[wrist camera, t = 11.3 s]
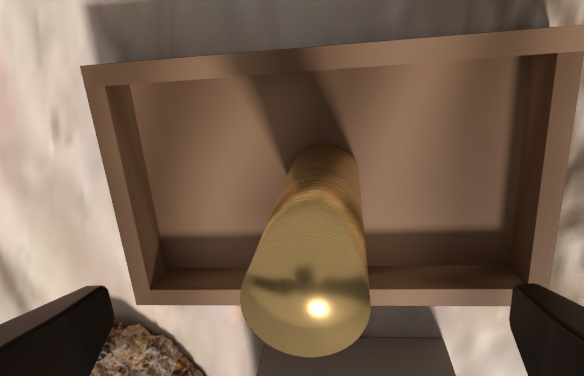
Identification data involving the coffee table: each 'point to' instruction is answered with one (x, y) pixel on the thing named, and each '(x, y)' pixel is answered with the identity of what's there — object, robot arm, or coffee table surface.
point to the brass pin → (311, 259)
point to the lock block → (365, 359)
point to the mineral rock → (141, 354)
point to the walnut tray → (360, 144)
